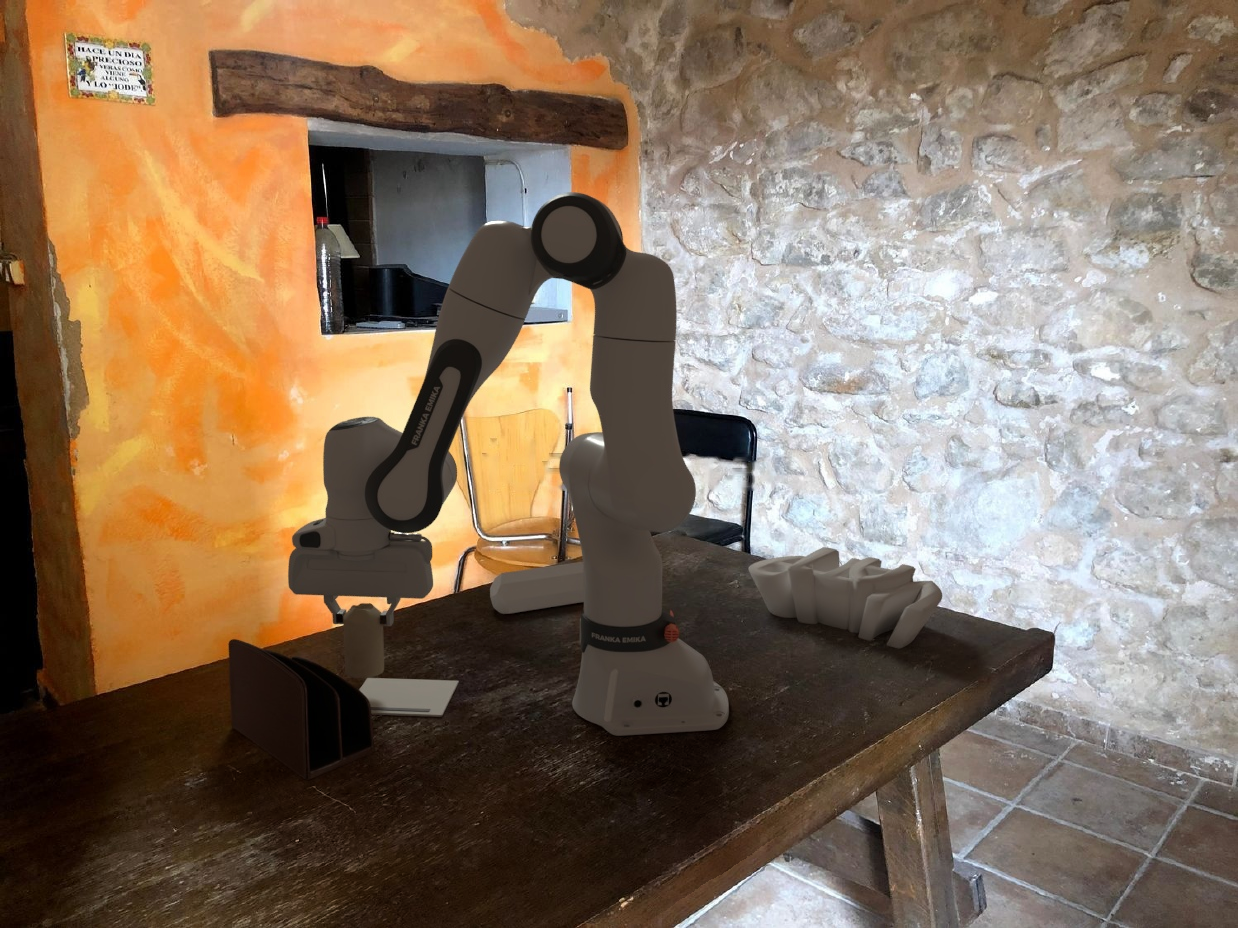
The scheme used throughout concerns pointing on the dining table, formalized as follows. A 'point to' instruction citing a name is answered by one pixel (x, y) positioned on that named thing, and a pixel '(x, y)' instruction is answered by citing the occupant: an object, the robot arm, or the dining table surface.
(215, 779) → the dining table surface
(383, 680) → the white rectangular plate
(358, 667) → the candle
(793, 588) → the wavy white extrusion
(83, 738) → the dining table surface
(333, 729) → the letter holder
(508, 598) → the grey chamfered bar
